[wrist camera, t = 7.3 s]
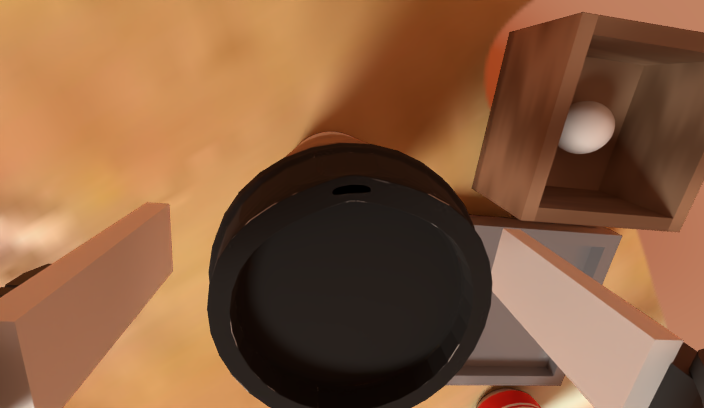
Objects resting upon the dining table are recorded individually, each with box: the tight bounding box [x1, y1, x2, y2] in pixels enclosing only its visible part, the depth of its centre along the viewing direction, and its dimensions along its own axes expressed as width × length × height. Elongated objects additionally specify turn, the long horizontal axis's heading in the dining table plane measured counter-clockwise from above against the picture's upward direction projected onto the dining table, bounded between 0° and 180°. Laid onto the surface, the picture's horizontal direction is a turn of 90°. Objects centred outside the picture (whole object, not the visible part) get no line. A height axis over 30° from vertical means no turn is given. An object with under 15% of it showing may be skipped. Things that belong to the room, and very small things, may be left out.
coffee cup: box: [207, 131, 493, 408], centre depth 15 cm, size 8×8×15 cm
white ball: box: [558, 101, 615, 154], centre depth 21 cm, size 3×3×3 cm
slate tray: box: [446, 215, 622, 386], centre depth 26 cm, size 14×14×2 cm
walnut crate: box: [472, 12, 704, 232], centre depth 20 cm, size 10×10×6 cm
